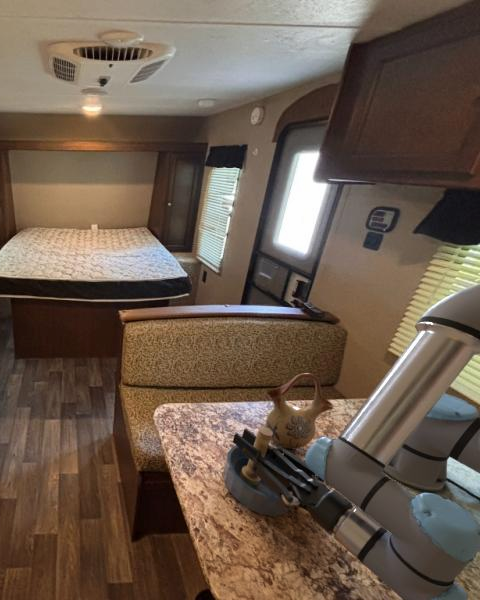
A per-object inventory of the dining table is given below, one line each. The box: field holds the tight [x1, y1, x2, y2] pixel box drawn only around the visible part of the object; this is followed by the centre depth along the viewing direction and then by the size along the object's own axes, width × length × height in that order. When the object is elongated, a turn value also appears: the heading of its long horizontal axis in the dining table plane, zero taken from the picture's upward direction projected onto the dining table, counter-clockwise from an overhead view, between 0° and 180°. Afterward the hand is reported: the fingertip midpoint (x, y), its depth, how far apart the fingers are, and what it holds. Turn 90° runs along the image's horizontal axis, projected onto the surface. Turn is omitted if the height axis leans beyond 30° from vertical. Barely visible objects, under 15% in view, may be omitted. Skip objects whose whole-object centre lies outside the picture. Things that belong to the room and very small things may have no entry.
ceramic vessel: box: [265, 372, 335, 450], centre depth 89 cm, size 16×9×25 cm, turn 74°
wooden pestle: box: [240, 426, 273, 487], centre depth 77 cm, size 4×4×16 cm
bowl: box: [222, 444, 292, 517], centre depth 79 cm, size 16×16×6 cm
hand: (239, 435), depth 80 cm, fingers closed on wooden pestle, 3 cm apart
